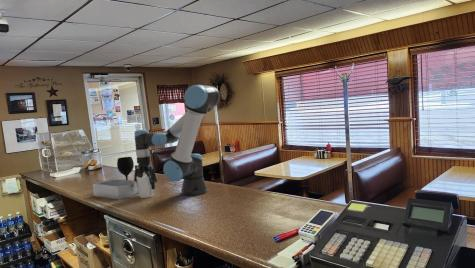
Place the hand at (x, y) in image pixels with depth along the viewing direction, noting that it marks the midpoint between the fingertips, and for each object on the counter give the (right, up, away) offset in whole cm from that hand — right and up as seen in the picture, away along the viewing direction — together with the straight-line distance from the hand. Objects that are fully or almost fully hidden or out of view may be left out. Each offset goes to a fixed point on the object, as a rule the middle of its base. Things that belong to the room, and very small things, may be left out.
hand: (146, 193), depth 191 cm
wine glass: (-20, -1, +26) cm, 33 cm away
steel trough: (-20, -2, +7) cm, 22 cm away
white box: (0, -1, 0) cm, 1 cm away
